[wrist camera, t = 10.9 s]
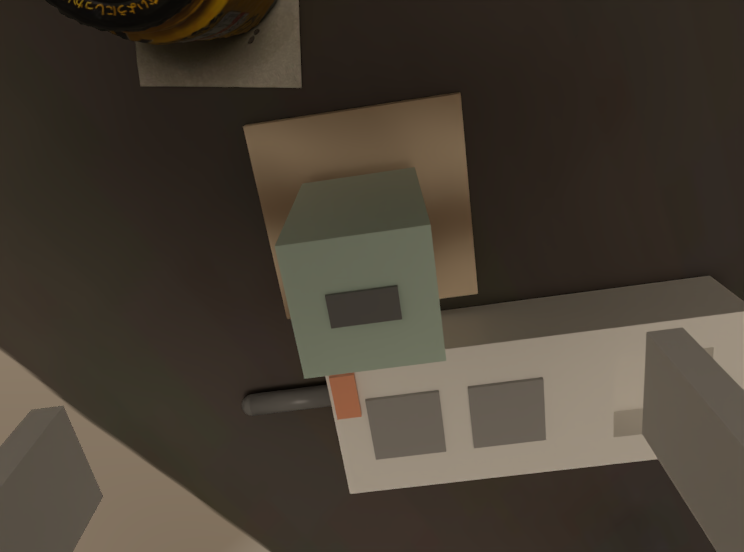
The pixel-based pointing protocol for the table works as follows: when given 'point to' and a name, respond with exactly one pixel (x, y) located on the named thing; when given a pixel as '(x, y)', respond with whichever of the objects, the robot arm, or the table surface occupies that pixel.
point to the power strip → (518, 387)
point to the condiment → (202, 39)
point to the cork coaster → (375, 169)
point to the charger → (361, 275)
